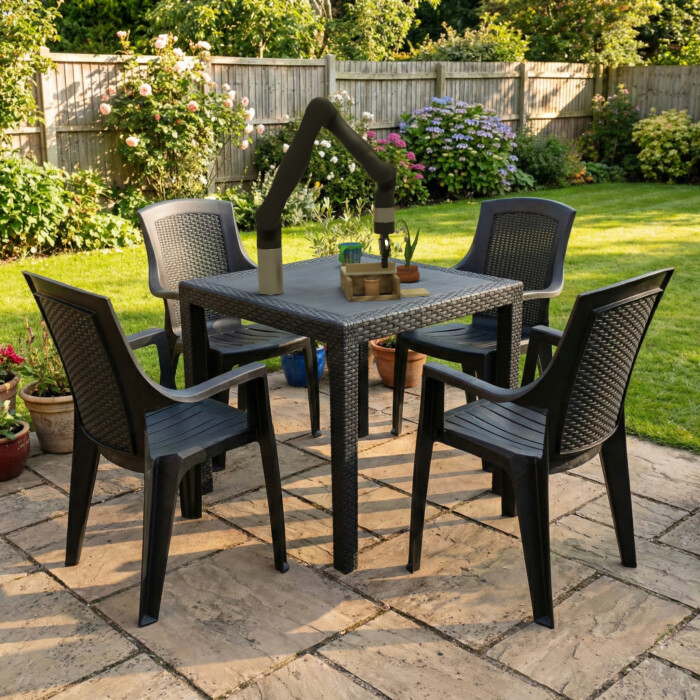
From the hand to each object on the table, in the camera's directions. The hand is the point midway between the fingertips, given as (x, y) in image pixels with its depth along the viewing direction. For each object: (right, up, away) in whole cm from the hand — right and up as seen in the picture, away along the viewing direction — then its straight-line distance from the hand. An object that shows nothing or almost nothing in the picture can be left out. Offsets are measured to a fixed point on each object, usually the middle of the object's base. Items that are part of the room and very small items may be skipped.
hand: (384, 268), depth 317 cm
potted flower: (+9, -3, +29) cm, 30 cm away
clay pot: (-4, -10, +2) cm, 11 cm away
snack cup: (-12, +6, +61) cm, 63 cm away
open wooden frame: (-5, -8, +8) cm, 13 cm away
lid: (-6, 0, +8) cm, 10 cm away
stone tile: (+11, -9, +4) cm, 15 cm away
